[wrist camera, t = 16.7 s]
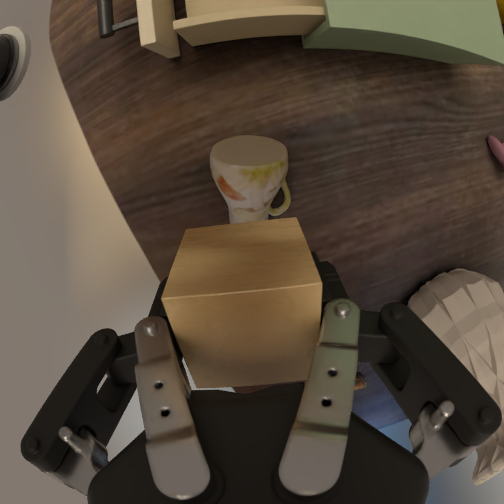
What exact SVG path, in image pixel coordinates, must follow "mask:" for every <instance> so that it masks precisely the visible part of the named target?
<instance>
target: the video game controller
mask: <svg viewBox="0 0 504 504" xmlns="http://www.w3.org/2000/svg"><path fill="white" fill-rule="evenodd" d="M487 140H488V144H489V146H490V148H491V150H492V152H493V154H494V155H495V156H496V158H497V159H498V160H499V161H500V163H501V164H502V165H503V166H504V143H503V144H501V143H500V142H499V140H498V139H496V138H495V137H493V136H488V138H487Z"/></svg>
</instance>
